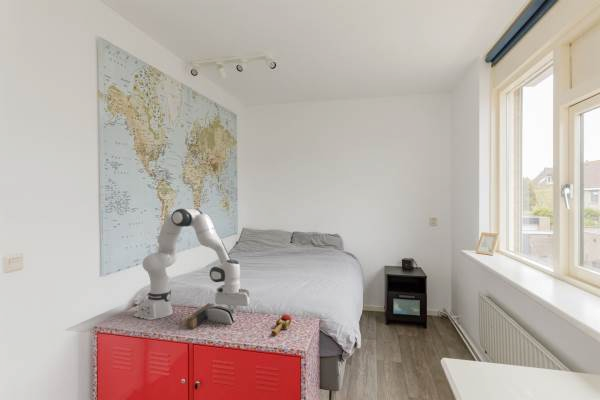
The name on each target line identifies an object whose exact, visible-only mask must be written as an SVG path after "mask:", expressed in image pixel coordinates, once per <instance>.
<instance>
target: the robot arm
mask: <svg viewBox="0 0 600 400" xmlns="http://www.w3.org/2000/svg"><path fill="white" fill-rule="evenodd" d="M183 227H192V228H193V229H194V231H195V234H196V238H197V241H198V242H199V243H200V245H201V246H203V247H206V248H209V249H212V250H213V251H215V253H216V255H217V257H218V259H219V263H220V264H217V265H214V266H212V267H211V268H210V270H209V277H210V280H211V281H212V282H213V283H220V282H221V283H222V282H223V283H224V284H222V285H220V286H219V287H217V288H216V292H215V295H214V296H215V298H214V302H215V303H214V304H216V305H225V306H227V308H228V309H230V310H231V311H232V314H235V313H236V309H237V307H238V306H239V307H248V306H249V304H251V302H250V301H251V300H250V291H249V290H248V289H246V288H241V280H240V278H241V265H240V262H239V261H237V260H235V259H232V258H231V257H230V254H229V253H228V251H227V248H226V246H225V245H224V242H223V240H222V239H221V238H220V237H219V235H218V233H217V231H216V229H215V226H214V224H213V221H212V219H211V218H210V216H209V215H208V214H206V213H203V212H202V211H201V210H199V209H197V208H192V207H191V208H189V207H187V208H178V209H175V210H173V212H172V213H170V214H168V215H167V216H166V217H165V220H164V221H163V224H162V226H161V228H160V231H159V235H158V238H157V240H156V241H157V244H158V250H157V252H153V253H151V254H149V255H147V256H146V257H145V258H143V260H142V267H143V269H144V270H145V271H146V272H147V274H148V277H149V281H150V292H148V293H147V294H146V297H147V298H146V299H145V300H144V301H143V302H142V303H140V304H139V306H138V310H137V311H136V312H135V313H133V317H134V316H135V317H134V318H138V317H140V318H139V319H143V318H144V320H147V321H148V320H149V321H153V320H156V319H161V318H166V317H169V316H171V315H172V314H173V313H174V311H173V308H172V301H171V297H172V290H171V278H170V276H169V275H168V273H167V270H166V268H168V267H171V266H172V265H174V264H175V262H176V261H177V259H178V257H177V253H176V246H177V242H178V240H179V236H180V234H181V230H182V228H183ZM232 307H233V308H232Z"/></svg>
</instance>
